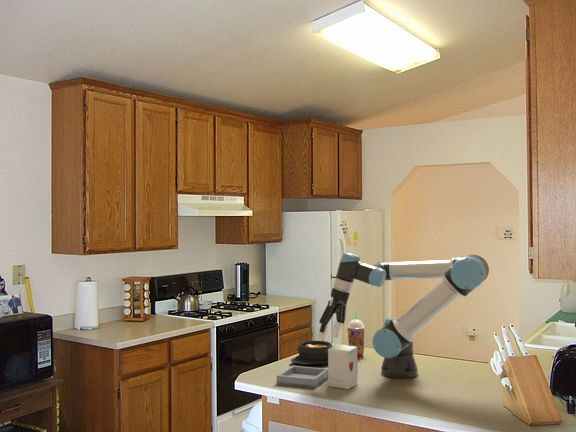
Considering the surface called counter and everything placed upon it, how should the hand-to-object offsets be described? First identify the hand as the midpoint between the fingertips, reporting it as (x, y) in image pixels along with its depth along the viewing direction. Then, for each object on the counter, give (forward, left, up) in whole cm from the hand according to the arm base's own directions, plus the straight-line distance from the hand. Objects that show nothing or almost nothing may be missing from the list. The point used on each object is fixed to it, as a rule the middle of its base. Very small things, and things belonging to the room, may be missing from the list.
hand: (327, 338), depth 247 cm
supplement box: (-10, +9, -16) cm, 21 cm away
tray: (+7, +9, -16) cm, 20 cm away
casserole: (+13, -21, -16) cm, 30 cm away
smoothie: (-1, -39, -16) cm, 42 cm away
